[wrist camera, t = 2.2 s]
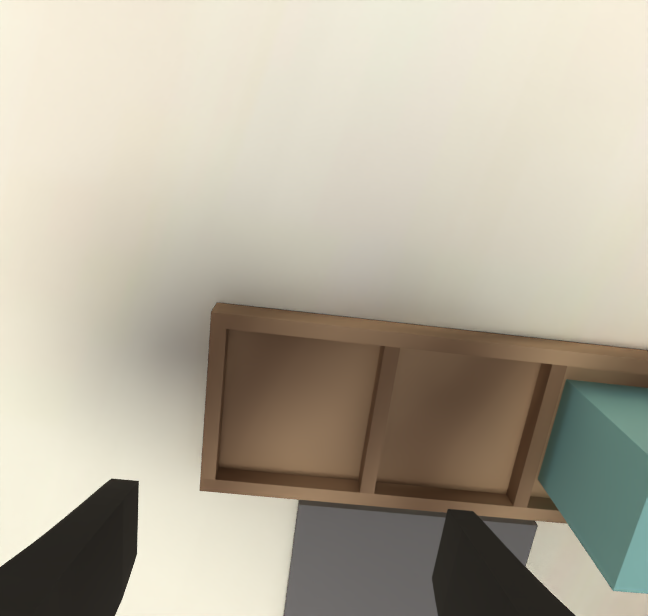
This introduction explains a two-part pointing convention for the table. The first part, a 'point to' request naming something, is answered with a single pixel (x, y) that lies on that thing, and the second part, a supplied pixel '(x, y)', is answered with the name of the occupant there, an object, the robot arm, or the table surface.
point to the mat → (375, 558)
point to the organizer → (389, 411)
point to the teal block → (603, 476)
